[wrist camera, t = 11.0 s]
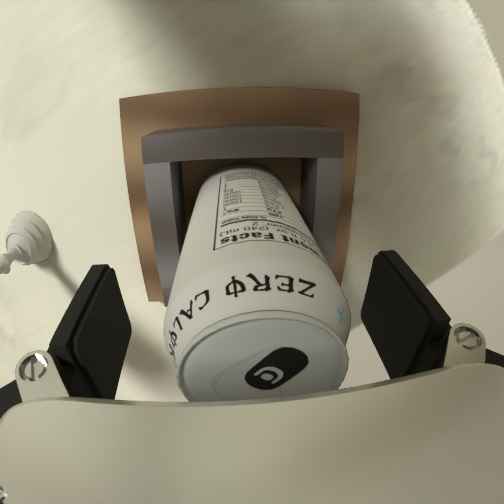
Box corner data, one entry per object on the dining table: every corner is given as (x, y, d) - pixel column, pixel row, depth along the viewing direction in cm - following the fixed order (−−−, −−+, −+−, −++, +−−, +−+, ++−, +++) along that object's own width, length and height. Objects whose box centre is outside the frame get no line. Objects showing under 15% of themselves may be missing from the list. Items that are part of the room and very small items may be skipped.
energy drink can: (180, 208, 21) (119, 386, 8) (236, 140, 19) (253, 243, 6) (246, 255, 23) (269, 445, 10) (302, 196, 21) (403, 356, 8)
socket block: (125, 98, 18) (95, 100, 14) (353, 93, 19) (386, 94, 15) (151, 293, 26) (138, 333, 21) (335, 284, 27) (354, 322, 22)
